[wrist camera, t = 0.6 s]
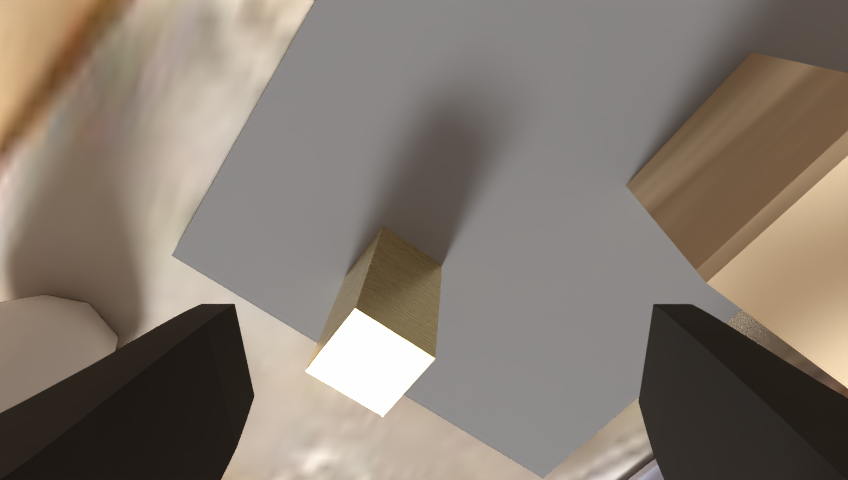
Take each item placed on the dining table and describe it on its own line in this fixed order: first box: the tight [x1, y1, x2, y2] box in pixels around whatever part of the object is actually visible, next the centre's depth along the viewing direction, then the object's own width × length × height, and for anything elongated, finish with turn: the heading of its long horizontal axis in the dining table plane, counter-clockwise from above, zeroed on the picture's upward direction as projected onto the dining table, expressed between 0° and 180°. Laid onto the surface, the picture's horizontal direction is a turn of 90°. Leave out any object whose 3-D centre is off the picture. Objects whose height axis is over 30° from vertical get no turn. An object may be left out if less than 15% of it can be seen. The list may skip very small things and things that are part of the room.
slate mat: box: [172, 0, 848, 478], centre depth 18 cm, size 18×21×1 cm
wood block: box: [626, 52, 848, 388], centre depth 15 cm, size 5×5×7 cm
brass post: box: [306, 226, 442, 416], centre depth 18 cm, size 3×3×6 cm
